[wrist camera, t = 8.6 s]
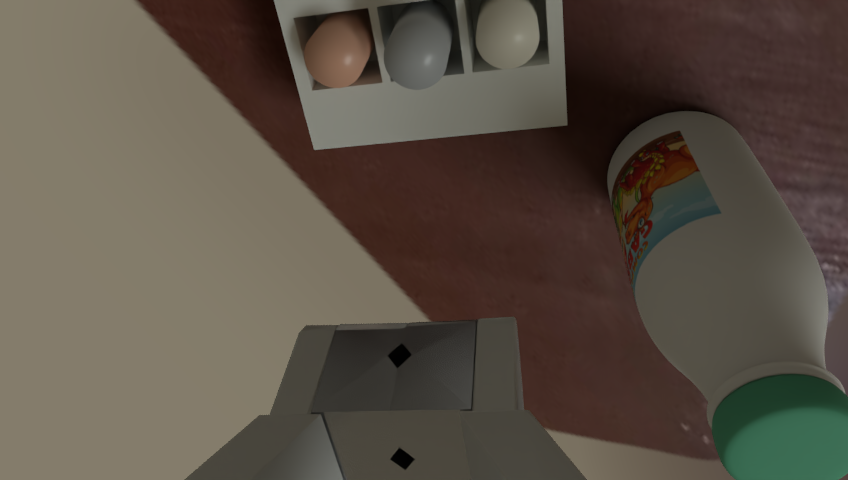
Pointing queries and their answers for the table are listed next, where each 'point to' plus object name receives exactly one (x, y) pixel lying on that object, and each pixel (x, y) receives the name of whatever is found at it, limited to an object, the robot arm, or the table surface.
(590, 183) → the table surface
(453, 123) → the white compartment tray
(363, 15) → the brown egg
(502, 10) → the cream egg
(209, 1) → the table surface
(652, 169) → the milk bottle
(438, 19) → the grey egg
